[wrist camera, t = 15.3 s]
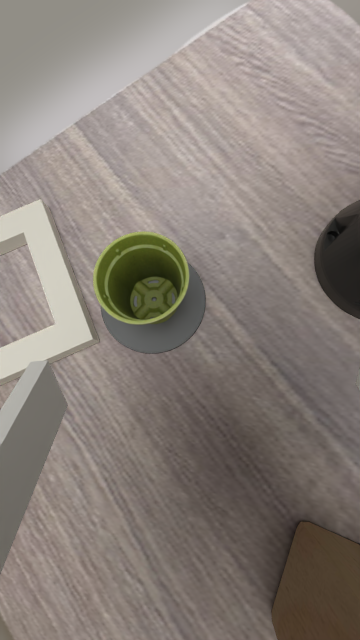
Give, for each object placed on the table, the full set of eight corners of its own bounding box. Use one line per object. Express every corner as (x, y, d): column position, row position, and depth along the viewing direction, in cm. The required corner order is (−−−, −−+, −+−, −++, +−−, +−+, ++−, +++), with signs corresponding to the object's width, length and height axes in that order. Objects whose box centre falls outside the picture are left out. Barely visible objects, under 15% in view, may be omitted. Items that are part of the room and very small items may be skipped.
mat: (180, 237, 41) (179, 235, 40) (222, 327, 38) (223, 326, 37) (88, 277, 40) (86, 276, 40) (124, 370, 38) (122, 370, 37)
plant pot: (118, 342, 38) (94, 329, 29) (114, 269, 40) (90, 237, 31) (195, 333, 37) (194, 318, 29) (187, 260, 39) (183, 225, 31)
